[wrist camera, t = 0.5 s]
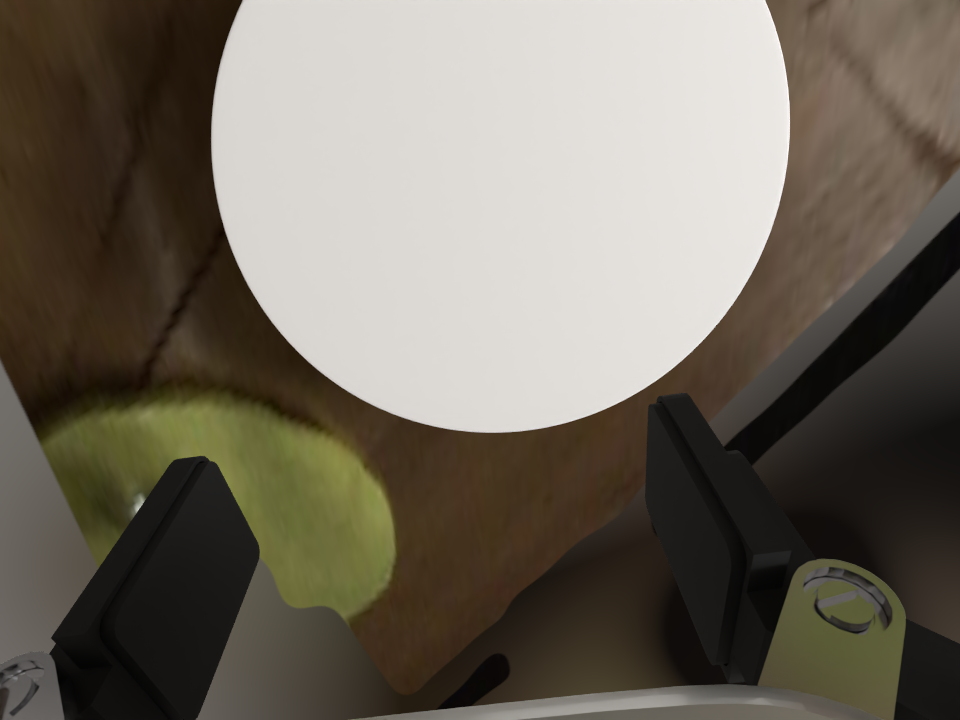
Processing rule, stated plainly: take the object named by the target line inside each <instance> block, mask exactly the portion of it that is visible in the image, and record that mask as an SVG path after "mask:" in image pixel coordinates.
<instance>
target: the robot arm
mask: <svg viewBox="0 0 960 720" xmlns="http://www.w3.org/2000/svg"><path fill="white" fill-rule="evenodd" d="M645 498H646V505H647V509H648V512H649V515H650V518H651V520H652V523H653V525H654V528H655V530H656V532H657V535H658V537H659V540H660V542H661V544H662V547H663V550H664V552H665V555H666V557H667V559H668V562H669V564H670V566H671V569H672V572H673V574H674V576H675V579H676V582H677V584H678V586H679V589H680V591H681V594H682V596H683V599H684V601H685V604H686V606H687V608H688V611H689V613H690V616H691V618H692V621H693V623H694V626H695V628H696V631H697V633H698V635H699V638H700V640H701V643H702V645H703V648H704V650H705V652H706V655H707V657H708V659H709V661H710V663H711V664H712V665H721V667H722V669H723V672H724V674H725V677H726V679H727V681H728V683H737V682H746V684H747V685H730V684H726V685H700V686H678V687H666V688H654V689H643V690H631V691H620V692H608V693H597V694H587V695H576V696H568V697H558V698H548V699H538V700H529V701H519V702H510V703H500V704H490V705H481V706H471V707H461V708H452V709H443V710H434V711H425V712H415V713H407V714H398V715H389V716H379V717H370V718H361V719H352V720H960V644H959V643H957V642H955V641H952V640H950V639H948V638H946V637H944V636H942V635H939V634H937V633H935V632H933V631H931V630H929V629H927V628H925V627H922V626H920V625H918V624H916V623H914V622H912V621H910V620H907V619H905V611H904V608H903V606H902V605H901V603H900V601H899V599H898V597H897V596H896V594H895V593H894V592H893V591H892V590H891V589H890V588H889V587H888V586H887V585H886V584H885V583H884V582H883V581H881V580H880V579H879V578H877V577H876V576H874V575H873V574H872V573H870V572H868V571H866V570H864V569H862V568H860V567H858V566H856V565H854V564H850V563H847V562H843V561H839V560H831V559H819V560H817V559H816V558H815V556H814V555H813V554H812V552H811V551H810V549H809V548H808V546H807V545H806V544H805V542H804V541H803V539H802V538H801V536H800V535H799V534H798V532H797V531H796V529H795V528H794V526H793V525H792V523H791V522H790V521H789V519H788V518H787V516H786V515H785V514H784V512H783V511H782V509H781V508H780V506H779V505H778V503H777V502H776V501H775V499H774V498H773V496H772V495H771V493H770V492H769V490H768V489H767V488H766V486H765V485H764V484H763V482H762V481H761V479H760V478H759V476H758V475H757V473H756V472H755V471H754V469H753V468H752V466H751V465H750V463H749V462H748V460H747V459H746V458H745V457H744V455H743V454H742V453H741V452H739V451H737V450H736V451H728V452H726V450H725V449H724V447H723V446H722V444H721V443H720V441H719V440H718V438H717V437H716V435H715V434H714V432H713V431H712V429H711V428H710V426H709V425H708V423H707V422H706V420H705V419H704V417H703V416H702V414H701V412H700V411H699V409H698V408H697V406H696V405H695V403H694V402H693V400H692V399H691V397H690V396H689V395H688V394H687V393H680V394H672V395H664V396H659V397H658V398H657V403H656V404H650V405H649V408H648V432H647V461H646V490H645ZM259 554H260V551H259V545H258V542H257V540H256V538H255V537H254V535H253V533H252V531H251V529H250V527H249V525H248V523H247V521H246V519H245V517H244V515H243V513H242V511H241V510H240V508H239V506H238V504H237V502H236V500H235V498H234V496H233V494H232V492H231V490H230V488H229V486H228V484H227V483H226V481H225V479H224V477H223V475H222V473H221V471H220V469H219V467H218V465H217V464H216V463H215V462H212V461H211V462H210V461H209V459H208V458H206V457H205V456H197V457H190V458H182V459H176V460H174V461H173V462H172V463H171V464H170V465H169V467H168V468H167V470H166V471H165V473H164V474H163V475H162V477H161V478H160V480H159V481H158V483H157V484H156V486H155V487H154V489H153V490H152V492H151V493H150V494H149V496H148V497H147V499H146V500H145V502H144V503H143V505H142V506H141V508H140V509H139V510H138V512H137V513H136V515H135V516H134V518H133V519H132V521H131V522H130V524H129V525H128V527H127V528H126V529H125V531H124V532H123V534H122V535H121V537H120V538H119V540H118V541H117V543H116V544H115V545H114V547H113V548H112V550H111V551H110V553H109V554H108V556H107V557H106V559H105V560H104V562H103V563H102V564H101V566H100V567H99V569H98V570H97V572H96V573H95V575H94V576H93V578H92V579H91V580H90V582H89V583H88V585H87V586H86V588H85V590H84V591H83V592H82V594H81V595H80V597H79V598H78V599H77V601H76V602H75V604H74V605H73V607H72V608H71V610H70V611H69V613H68V614H67V616H66V617H65V618H64V620H63V621H62V623H61V624H60V626H59V627H58V629H57V630H56V631H55V633H54V634H53V636H52V637H51V638H52V640H53V641H54V642H55V643H56V645H55V646H54V648H53V649H52V651H51V652H50V654H47V653H44V652H29V653H25V654H22V655H19V656H16V657H14V658H12V659H10V660H8V661H6V662H4V663H3V664H0V720H196V718H197V717H198V715H199V713H200V711H201V708H202V705H203V703H204V700H205V698H206V695H207V692H208V690H209V687H210V685H211V682H212V680H213V677H214V674H215V672H216V669H217V667H218V664H219V661H220V659H221V656H222V654H223V651H224V649H225V646H226V643H227V641H228V638H229V635H230V633H231V630H232V628H233V625H234V623H235V620H236V617H237V615H238V612H239V610H240V607H241V604H242V602H243V599H244V597H245V594H246V592H247V589H248V586H249V583H250V581H251V579H252V576H253V573H254V571H255V568H256V566H257V563H258V560H259Z"/></svg>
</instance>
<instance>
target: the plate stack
mask: <svg viewBox="0 0 960 720" xmlns="http://www.w3.org/2000/svg"><path fill="white" fill-rule="evenodd" d="M789 136H790V110H789V94H788V85H787V77H786V70H785V65H784V60H783V55H782V51H781V47H780V42H779V39H778V35H777V32H776V29H775V25H774V23H773V20H772V17H771V14H770V11H769V9H768V6H767V4H766V2H765V0H243V1H242V3H241V5H240V7H239V10H238V12H237V14H236V17H235V19H234V22H233V24H232V27H231V29H230V32H229V35H228V38H227V41H226V44H225V48H224V51H223V55H222V58H221V62H220V67H219V71H218V75H217V81H216V87H215V93H214V101H213V109H212V124H211V152H212V167H213V176H214V184H215V190H216V196H217V201H218V206H219V210H220V214H221V218H222V222H223V225H224V229H225V232H226V235H227V238H228V241H229V244H230V246H231V249H232V252H233V254H234V257H235V259H236V261H237V264H238V266H239V268H240V270H241V272H242V274H243V276H244V278H245V280H246V282H247V284H248V286H249V288H250V290H251V291H252V293H253V295H254V296H255V298H256V300H257V301H258V303H259V304H260V306H261V307H262V309H263V310H264V312H265V313H266V315H267V316H268V317H269V319H270V320H271V321H272V323H273V324H274V325H275V327H276V328H277V329H278V330H279V332H280V333H281V334H282V335H283V336H284V337H285V339H286V340H287V341H288V342H289V343H290V344H291V345H292V346H293V347H294V348H295V349H296V350H297V351H298V352H299V353H300V354H301V355H302V356H303V357H304V358H305V359H306V360H307V361H308V362H309V363H310V364H312V365H313V366H314V367H315V368H316V369H317V370H319V371H320V372H321V373H322V374H324V375H325V376H326V377H328V378H329V379H330V380H332V381H333V382H335V383H336V384H337V385H339V386H340V387H342V388H343V389H345V390H347V391H348V392H350V393H351V394H353V395H355V396H357V397H358V398H360V399H362V400H364V401H366V402H368V403H370V404H372V405H374V406H376V407H378V408H380V409H382V410H385V411H387V412H390V413H392V414H395V415H397V416H400V417H403V418H406V419H409V420H412V421H415V422H419V423H423V424H427V425H431V426H435V427H440V428H446V429H452V430H459V431H469V432H488V433H491V432H516V431H526V430H533V429H540V428H545V427H550V426H555V425H559V424H563V423H567V422H570V421H574V420H577V419H580V418H583V417H586V416H589V415H591V414H594V413H597V412H599V411H601V410H604V409H606V408H608V407H611V406H613V405H615V404H617V403H619V402H621V401H623V400H625V399H627V398H629V397H630V396H632V395H634V394H636V393H637V392H639V391H641V390H642V389H644V388H646V387H647V386H649V385H650V384H652V383H653V382H655V381H656V380H657V379H659V378H660V377H662V376H663V375H664V374H666V373H667V372H668V371H670V370H671V369H672V368H673V367H675V366H676V365H677V364H678V363H679V362H681V361H682V360H683V359H684V358H685V357H686V356H687V355H688V354H690V353H691V352H692V351H693V350H694V349H695V348H696V347H697V346H698V345H699V344H700V343H701V342H702V341H703V340H704V339H705V337H706V336H707V335H708V334H709V333H710V332H711V331H712V330H713V329H714V327H715V326H716V325H717V324H718V323H719V321H720V320H721V319H722V318H723V316H724V315H725V314H726V312H727V311H728V310H729V308H730V307H731V305H732V304H733V303H734V301H735V300H736V298H737V297H738V295H739V294H740V292H741V290H742V289H743V287H744V286H745V284H746V282H747V280H748V279H749V277H750V275H751V273H752V271H753V270H754V268H755V266H756V264H757V262H758V260H759V257H760V255H761V253H762V251H763V249H764V246H765V244H766V241H767V239H768V236H769V234H770V231H771V228H772V225H773V222H774V219H775V216H776V213H777V209H778V206H779V202H780V198H781V194H782V189H783V185H784V180H785V174H786V167H787V160H788V151H789Z"/></svg>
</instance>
